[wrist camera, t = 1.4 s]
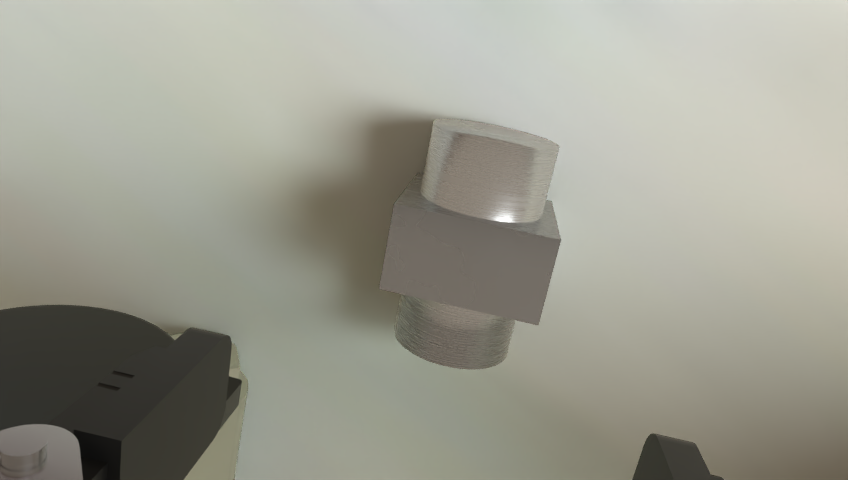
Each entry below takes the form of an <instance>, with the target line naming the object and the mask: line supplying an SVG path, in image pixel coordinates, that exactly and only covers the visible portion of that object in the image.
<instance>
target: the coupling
mask: <svg viewBox="0 0 848 480" xmlns="http://www.w3.org/2000/svg"><path fill="white" fill-rule="evenodd" d="M558 150H559V145H558V144H556V143H554V142H552V141H550V140H548V139H545V138H542V137H539V136H536V135H533V134H529V133H526V132H522V131H518V130H514V129H510V128H505V127H501V126H496V125H491V124H485V123H480V122H473V121H466V120H457V119H436V120H434V122H433V127H432V132H431V138H430V143H429V148H428V154H427V159H426V164H425V169H424V174H421V173H418V174H417V175H416V176H415V177H414V179H413V180H412V181H411V183H410V184H409V185H408V186H407V188H406V189H405V190H404V192H403V193H402V194H401V195H400V197H399V198H398V199H397V201H396V202H395V203H394V207H393V213H392V218H391V224H390V229H389V235H388V241H387V246H386V252H385V258H384V263H383V269H382V275H381V280H380V286H379V289H381V290H385V291H390V292H394V293H399V294H401V296H400V301H399V307H398V312H397V317H396V323H395V328H394V333H395V336H396V338H397V340H398V341H399V342H400V344H401V345H402V346H403V347H405V348H406V349H407V350H409V351H410V352H412V353H413V354H415V355H417V356H419V357H421V358H423V359H425V360H428V361H430V362H433V363H436V364H440V365H443V366H448V367H453V368H460V369H483V368H489V367H492V366H495V365H497V364H499V363H501V362H502V361H503V360H504V359H505V358H506V356H507V352H508V348H509V344H510V340H511V337H512V333H513V329H514V325H515V321H516V320H517V321H522V322H526V323H531V324H535V325H538V324H539V321H540V317H541V313H542V309H543V306H544V302H545V298H546V294H547V290H548V287H549V283H550V279H551V275H552V272H553V268H554V264H555V260H556V257H557V253H558V249H559V245H560V241H561V238H560V234H559V230H558V225H557V221H556V217H555V213H554V209H553V204H552V201H548V200H546V198H547V194H548V190H549V186H550V182H551V178H552V174H553V170H554V166H555V162H556V158H557V154H558Z"/></svg>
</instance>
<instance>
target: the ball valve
mask: <svg viewBox="0 0 848 480" xmlns="http://www.w3.org/2000/svg"><path fill="white" fill-rule="evenodd" d="M182 334H183V333H180V334H175V335H171V336H170V335H169V334H168V333H166V332H165V331H163V330H162V329H160V328H159V327H157V326H156V325H154V324H152V323H149V322H147V321H145V320H143V319H141V318H138V317H135V316H132V315H129V314H126V313H122V312H118V311H114V310H108V309H103V308H96V307H88V306H76V305H40V306H27V307H17V308H10V309H4V310H0V431H1V430H4V429H8V428H11V427H16V426H21V425H30V424H46V425H47V424H48V423H49V422H51V421H52V420H53V419H54V418H55V417H57V416H58V415H59V414H60V413H62V412H63V411H64V410H65V409H66V408H68V407H69V406H70V405H71V404H73V403H74V402H75V401H76V400H77V399H79V398H80V397H81V396H82V395H84V394H85V393H86V392H87V391H88V390H90V389H91V388H92V387H93V386H97V385H98V382H100V381H101V380H102V379H103V378H104V377H106V376H107V375H108V374H109V373H110V374H112V373H113V370H114V369H115V368H117V367H118V366H119V365H120V364H122V363H123V362H124V361H125V360H126V359H128V358H129V357H130V356H132V355H135V354H137V353H140V352H142V351H145V350H147V349H150V348H152V347H155V346H159V347H163V348H167V347H168V346H169V345H170V344H171V343H172V342H174V341H175V340H176V339H177V338H178V337H179V336H180V335H182ZM247 391H248V381H247V379H246V377H245V375H244V374H243V372H242V371H241V370H240V363H239V356H238V352H237V348H236V346H235V344H233V343H232V349H231V360H230V369H229V379H228V389H227V399H226V408H225V413H224V417H223V420H222V423H221V426H220V428H219V431H218V433H217V435H216V437H215V438H214V440H213V441H212V443H211V444H210V445H209V447H208V448H207V449H206V451H205V452H204V453H203V455H202V456H201V457H200V459H199V460H198V461H197V463H196V464H195V465H194V467H193V468H192V469H191V471H190V472H189V473H188V475H187V476H186V477H185V479H184V480H234V477H235V471H236V464H237V457H238V450H239V444H240V437H241V431H242V424H243V417H244V411H245V404H246V398H247Z"/></svg>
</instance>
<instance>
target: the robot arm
mask: <svg viewBox="0 0 848 480" xmlns="http://www.w3.org/2000/svg"><path fill="white" fill-rule="evenodd" d="M231 349H232V342H231V338H230V337H229V336H228V335H223V334H219V333H214V332H210V331H206V330H201V329H197V328H189V329H187V330H186V331H185V332H184V333H183V334H182V335H180V336H179V337H178V338H177V339H176V340H175V341H174V342H172V343H171V344H170V345H169V346H168V347H167V348H163V347H159V346H155V347H152V348H150V349H147V350H145V351H142V352H140V353H137V354H135V355H132V356H130V357H129V358H128V359H126V360H125V361H124V362H123V363H122V364H120V365H119V366H118V367H117V368H115V369H114V370H113V373H112V374H110V373H109V374H108V375H107V376H106V377H104V378H103V379H102V380H101V381H100V382H98V385H97V386H93V387H92V388H91V389H90V390H88V391H87V392H86V393H85V394H84V395H82V396H81V397H80V398H79V399H77V400H76V401H75V402H74V403H73V404H71V405H70V406H69V407H68V408H66V409H65V410H64V411H63V412H62V413H60V414H59V415H58V416H57V417H55V418H54V419H53V420H52V421H51V422H49V423H48V424H47V425H46V424H30V425H21V426H16V427H11V428H8V429H4V430H1V431H0V480H184V479H185V477H186V476H187V475H188V473H189V472H190V471H191V469H192V468H193V467H194V465H195V464H196V463H197V461H198V460H199V459H200V457H201V456H202V455H203V453H204V452H205V451H206V449H207V448H208V447H209V445H210V444H211V443H212V441H213V440H214V438H215V437H216V435H217V433H218V431H219V428H220V426H221V423H222V420H223V417H224V413H225V408H226V399H227V389H228V379H229V369H230V360H231ZM632 480H724V479H723V478H722V477H718V476H714V475H710V473H709V470H708V468H707V466H706V464H705V462H704V460H703V458H702V456H701V454H700V452H699V450H698V447H697V446H696V444H695V443H693V442H689V441H684V440H680V439H675V438H671V437H667V436H662V435H658V434H650V435H649V436H648V438H647V440H646V442H645V444H644V447H643V450H642V453H641V456H640V459H639V462H638V465H637V468H636V471H635V474H634V476H633V479H632Z"/></svg>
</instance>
